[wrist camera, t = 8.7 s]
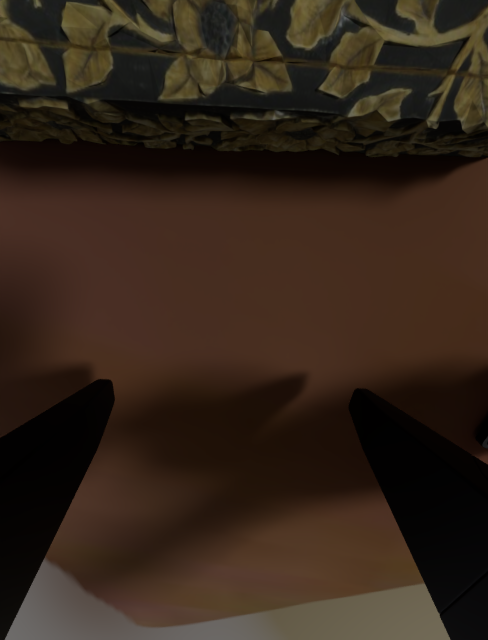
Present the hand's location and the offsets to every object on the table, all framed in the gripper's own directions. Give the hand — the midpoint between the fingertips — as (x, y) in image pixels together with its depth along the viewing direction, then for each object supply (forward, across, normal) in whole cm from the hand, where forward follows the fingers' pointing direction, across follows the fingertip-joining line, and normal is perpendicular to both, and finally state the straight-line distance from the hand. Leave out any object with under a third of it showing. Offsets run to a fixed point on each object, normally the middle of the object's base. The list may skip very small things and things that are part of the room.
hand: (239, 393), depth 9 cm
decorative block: (+2, 0, -9) cm, 9 cm away
